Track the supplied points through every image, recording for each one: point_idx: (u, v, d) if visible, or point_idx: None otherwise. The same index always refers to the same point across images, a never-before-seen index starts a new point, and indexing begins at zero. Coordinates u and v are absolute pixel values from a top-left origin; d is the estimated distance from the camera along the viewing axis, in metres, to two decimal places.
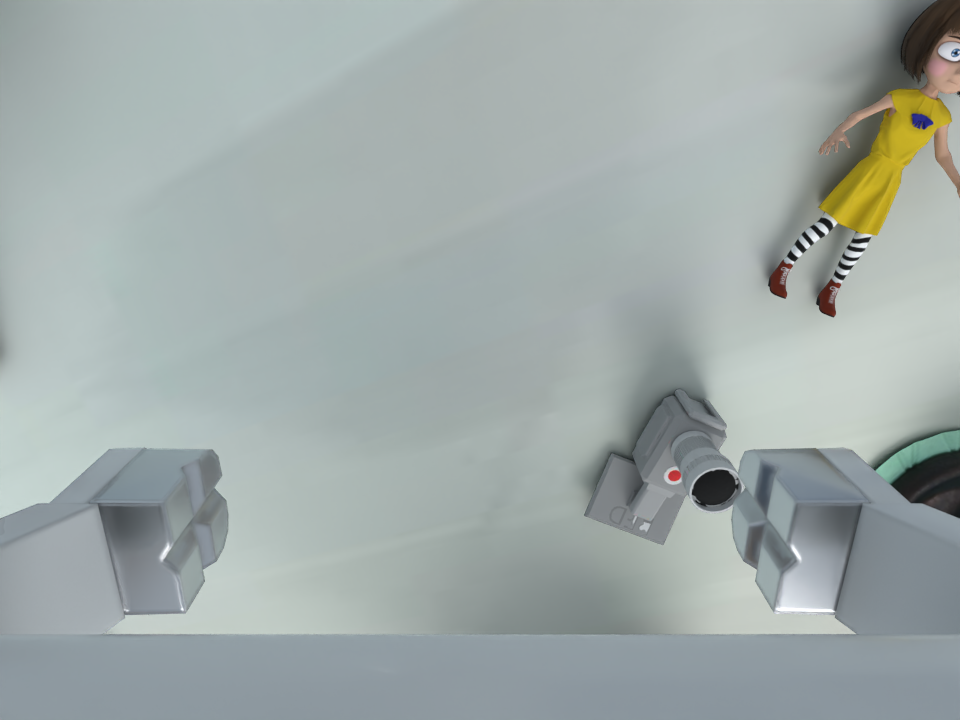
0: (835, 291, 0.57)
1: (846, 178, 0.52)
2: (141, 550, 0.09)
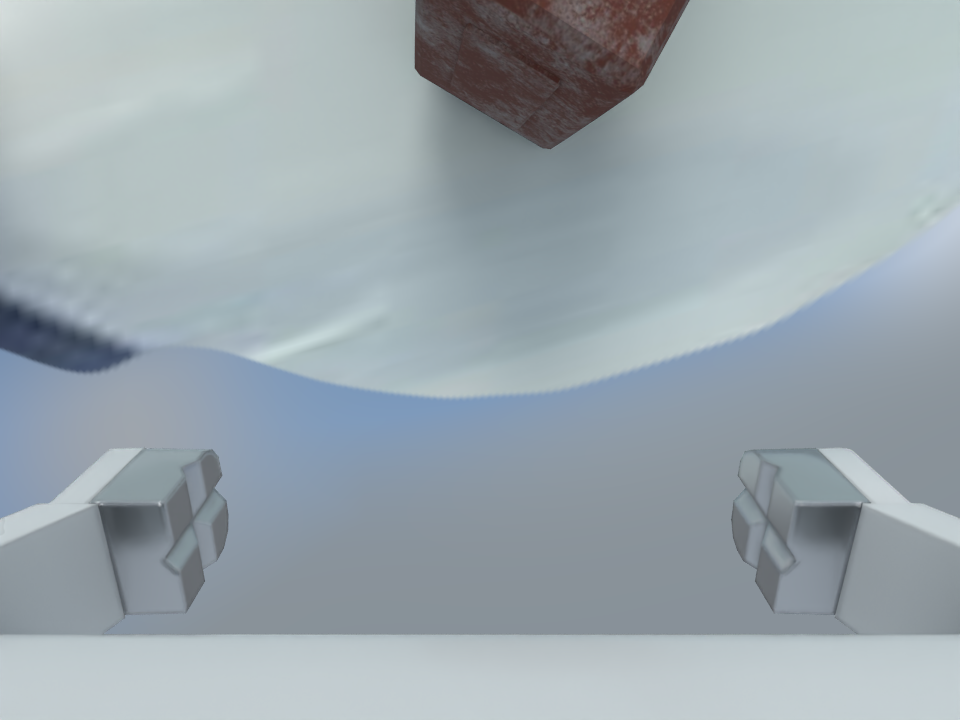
0: None
1: None
2: (141, 550, 0.09)
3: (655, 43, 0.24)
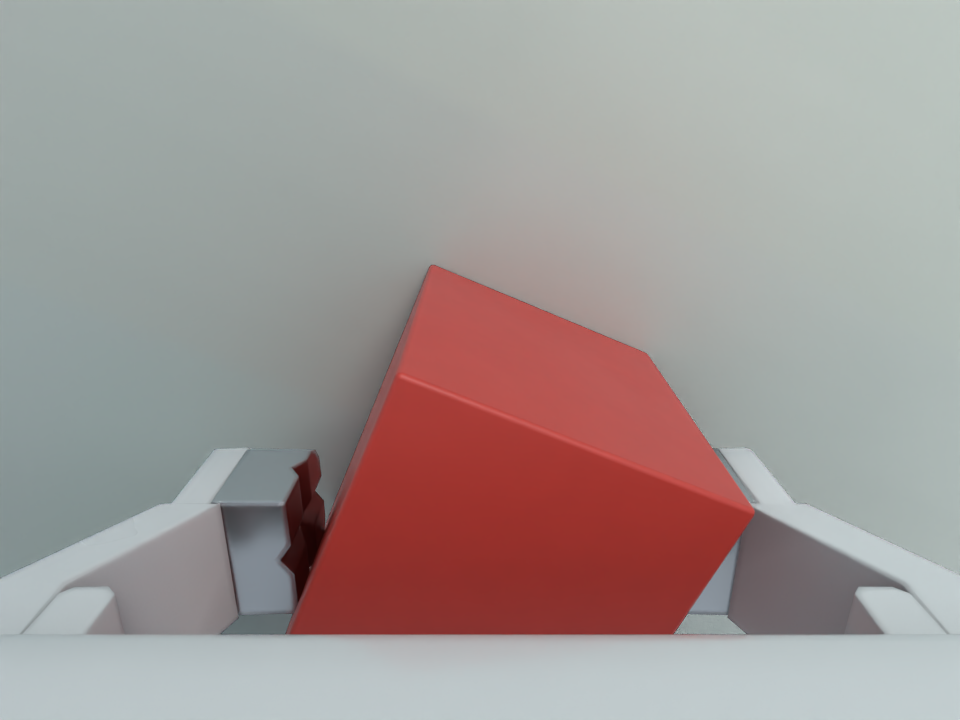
0: None
1: None
2: (259, 550, 0.09)
3: None
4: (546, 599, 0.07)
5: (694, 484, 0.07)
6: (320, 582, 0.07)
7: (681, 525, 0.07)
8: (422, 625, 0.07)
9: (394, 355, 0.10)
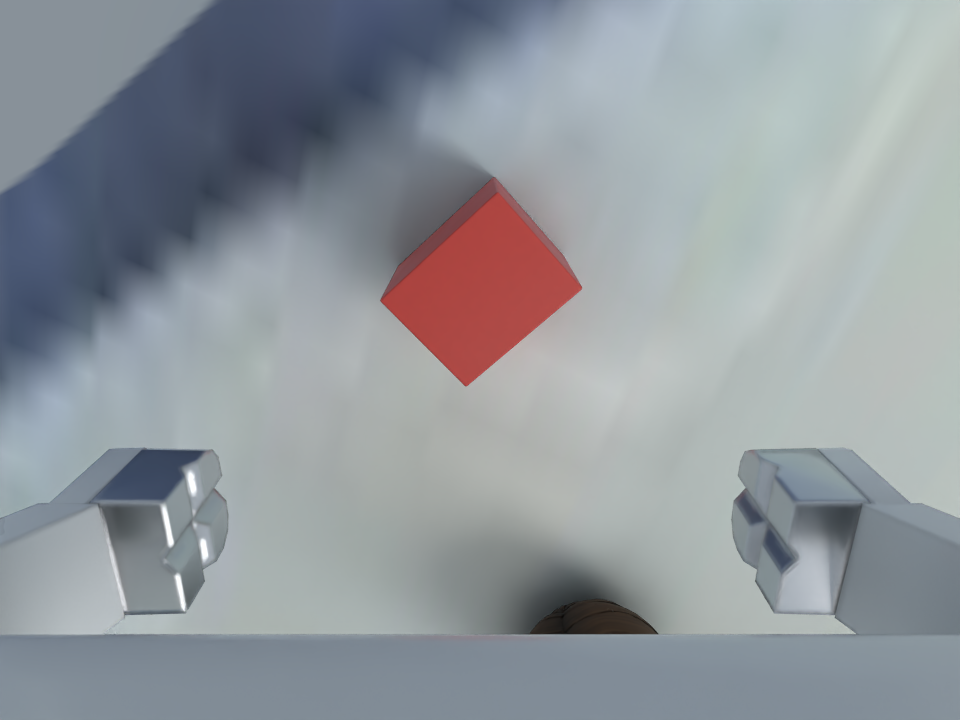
0: None
1: None
2: (141, 550, 0.09)
3: None
4: (505, 292, 0.21)
5: (567, 271, 0.20)
6: (435, 252, 0.20)
7: (558, 283, 0.20)
8: (460, 284, 0.20)
9: (465, 205, 0.23)
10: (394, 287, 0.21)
